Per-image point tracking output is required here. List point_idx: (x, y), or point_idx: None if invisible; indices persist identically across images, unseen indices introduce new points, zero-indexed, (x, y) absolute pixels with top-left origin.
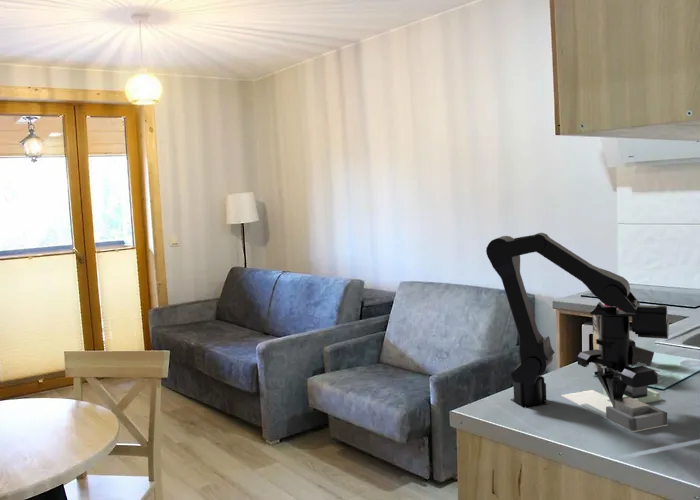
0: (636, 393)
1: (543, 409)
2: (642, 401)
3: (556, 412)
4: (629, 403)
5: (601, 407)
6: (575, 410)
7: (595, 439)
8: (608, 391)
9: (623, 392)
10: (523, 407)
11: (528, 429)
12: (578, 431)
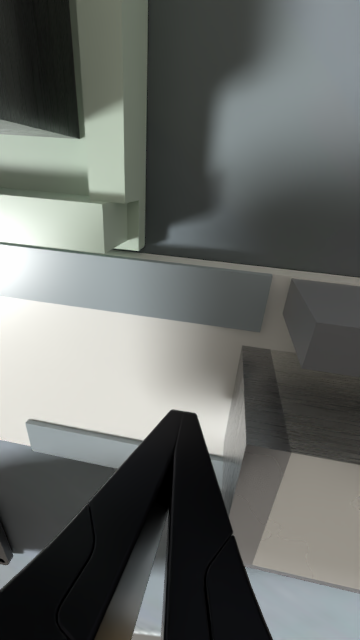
0: (20, 48)
1: (18, 520)
2: (134, 55)
3: (59, 515)
4: None
5: (96, 402)
6: (62, 465)
7: (349, 600)
8: (142, 598)
9: (231, 539)
10: (2, 563)
11: (156, 623)
12: (253, 583)
